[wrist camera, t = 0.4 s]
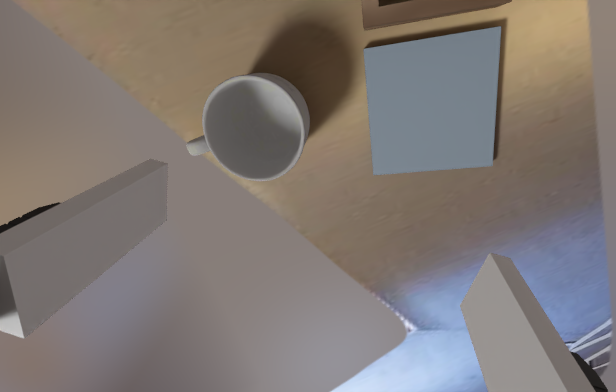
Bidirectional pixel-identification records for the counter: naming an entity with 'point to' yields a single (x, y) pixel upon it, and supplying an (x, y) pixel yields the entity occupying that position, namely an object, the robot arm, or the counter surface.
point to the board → (433, 102)
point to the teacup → (254, 126)
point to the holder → (419, 10)
